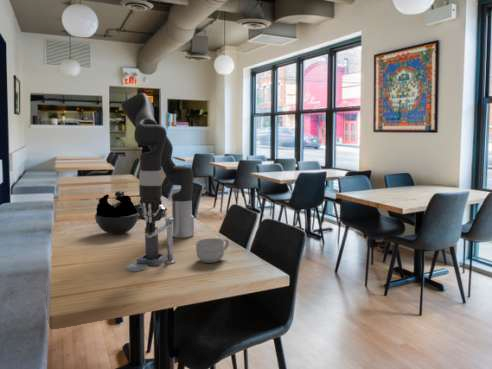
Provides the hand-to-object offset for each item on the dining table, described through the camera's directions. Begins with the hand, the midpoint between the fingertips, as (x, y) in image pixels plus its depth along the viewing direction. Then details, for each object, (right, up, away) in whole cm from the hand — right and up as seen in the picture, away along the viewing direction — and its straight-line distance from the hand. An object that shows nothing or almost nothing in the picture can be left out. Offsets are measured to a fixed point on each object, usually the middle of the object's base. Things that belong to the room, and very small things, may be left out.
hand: (150, 232), depth 150 cm
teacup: (+21, -13, +16) cm, 29 cm away
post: (+4, -13, +13) cm, 19 cm away
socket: (-3, -13, +14) cm, 19 cm away
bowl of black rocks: (-29, -7, +58) cm, 65 cm away
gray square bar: (+3, 0, +4) cm, 5 cm away
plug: (-3, -13, +14) cm, 19 cm away
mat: (-7, -14, +7) cm, 17 cm away
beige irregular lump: (-33, -4, +85) cm, 92 cm away
